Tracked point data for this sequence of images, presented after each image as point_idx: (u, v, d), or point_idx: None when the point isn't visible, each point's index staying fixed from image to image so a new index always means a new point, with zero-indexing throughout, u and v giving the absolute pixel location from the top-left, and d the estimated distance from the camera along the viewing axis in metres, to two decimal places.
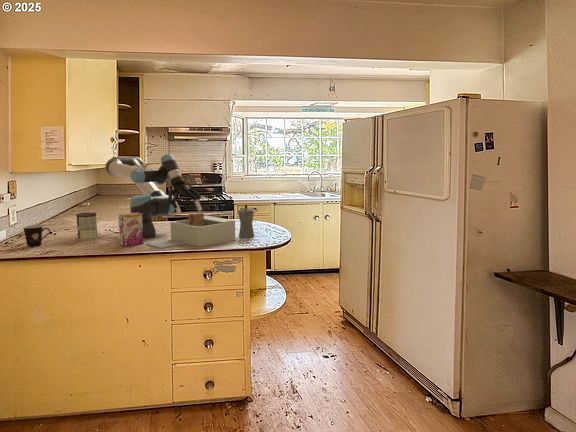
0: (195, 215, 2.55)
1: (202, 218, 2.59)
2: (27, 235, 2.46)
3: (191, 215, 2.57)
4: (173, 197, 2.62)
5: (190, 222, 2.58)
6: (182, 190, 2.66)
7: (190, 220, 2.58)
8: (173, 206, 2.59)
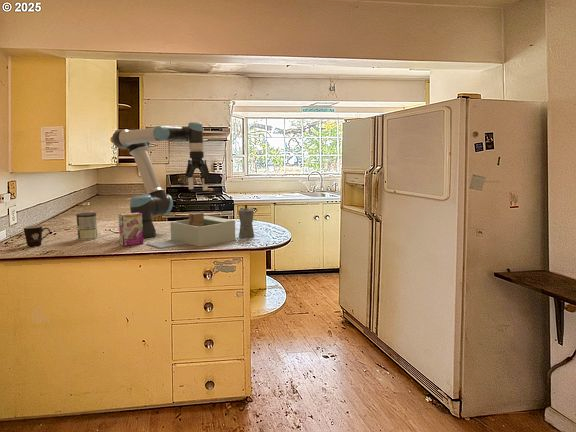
0: (195, 215, 2.55)
1: (202, 218, 2.59)
2: (27, 235, 2.46)
3: (191, 215, 2.57)
4: (202, 171, 2.60)
5: (190, 222, 2.58)
6: None
7: (190, 220, 2.58)
8: (205, 181, 2.60)
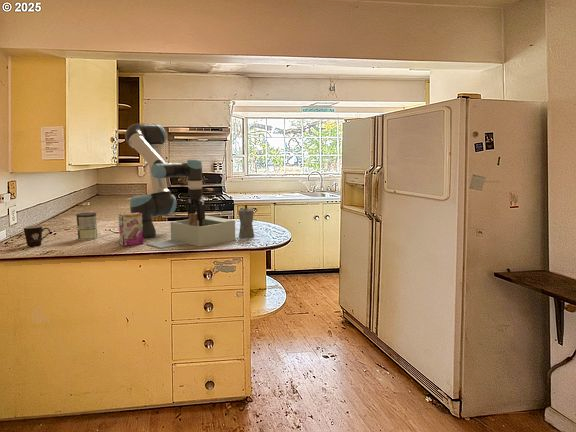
0: (195, 215, 2.55)
1: None
2: (27, 235, 2.46)
3: (191, 215, 2.57)
4: (198, 212, 2.55)
5: (190, 222, 2.58)
6: None
7: (190, 220, 2.58)
8: (200, 224, 2.56)
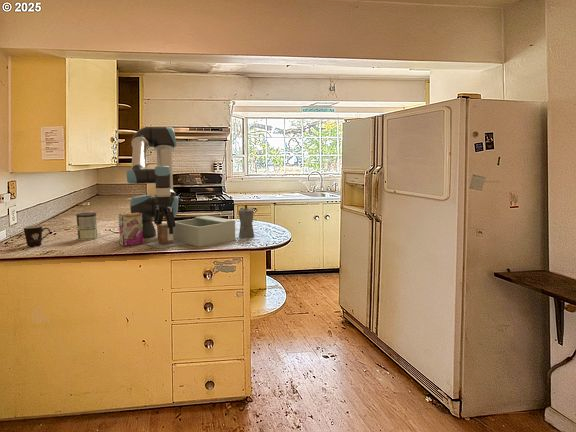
0: (163, 226, 2.47)
1: None
2: (27, 235, 2.46)
3: (159, 226, 2.48)
4: (167, 219, 2.46)
5: (158, 233, 2.50)
6: None
7: (158, 231, 2.49)
8: (170, 231, 2.46)
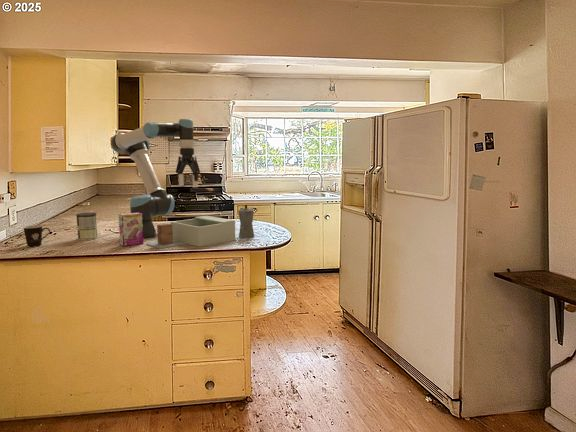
0: (163, 226, 2.47)
1: (171, 229, 2.50)
2: (27, 235, 2.46)
3: (159, 226, 2.48)
4: (192, 168, 2.60)
5: (158, 233, 2.50)
6: None
7: (158, 231, 2.49)
8: (196, 178, 2.59)
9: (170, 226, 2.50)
